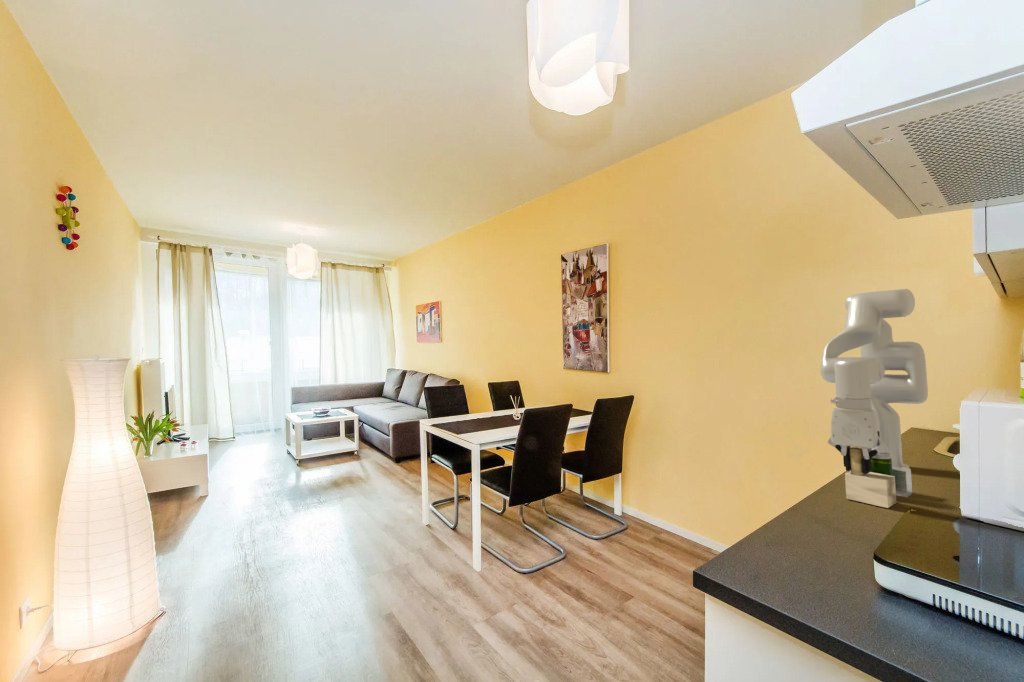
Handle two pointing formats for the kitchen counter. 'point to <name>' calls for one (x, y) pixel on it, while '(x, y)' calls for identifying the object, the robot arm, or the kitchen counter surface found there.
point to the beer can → (882, 464)
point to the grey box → (902, 481)
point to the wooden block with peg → (868, 483)
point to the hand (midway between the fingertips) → (857, 470)
